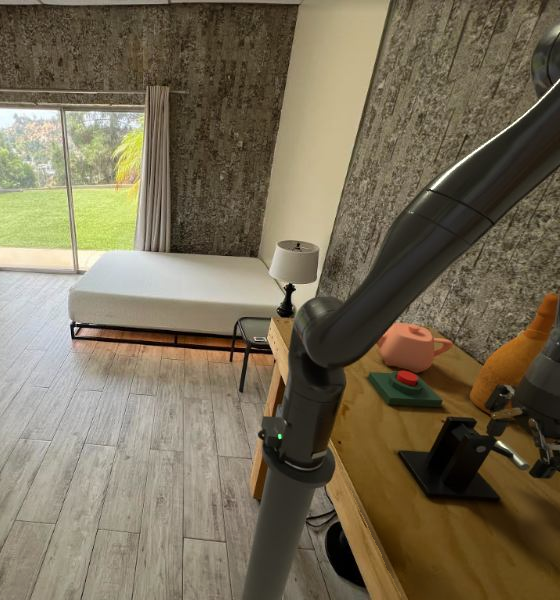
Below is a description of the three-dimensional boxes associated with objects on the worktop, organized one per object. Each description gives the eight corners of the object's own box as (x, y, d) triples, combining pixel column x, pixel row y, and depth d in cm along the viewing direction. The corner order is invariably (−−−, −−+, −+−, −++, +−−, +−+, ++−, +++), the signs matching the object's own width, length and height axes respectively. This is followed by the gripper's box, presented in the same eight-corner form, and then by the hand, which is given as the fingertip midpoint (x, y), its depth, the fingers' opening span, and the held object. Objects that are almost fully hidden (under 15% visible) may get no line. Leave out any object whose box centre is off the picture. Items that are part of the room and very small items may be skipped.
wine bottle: (534, 418, 73) (612, 302, 61) (503, 426, 71) (576, 308, 58) (486, 390, 82) (544, 283, 69) (456, 397, 80) (512, 288, 67)
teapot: (360, 340, 104) (370, 307, 99) (437, 359, 94) (453, 324, 89) (357, 361, 94) (369, 326, 88) (444, 385, 84) (462, 346, 79)
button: (402, 385, 79) (404, 380, 78) (392, 375, 82) (395, 370, 81) (419, 386, 78) (421, 381, 78) (409, 376, 82) (411, 370, 81)
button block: (387, 404, 78) (392, 392, 76) (367, 378, 87) (371, 366, 85) (439, 407, 77) (446, 394, 75) (413, 380, 86) (418, 368, 84)
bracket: (459, 457, 64) (486, 410, 59) (498, 502, 56) (534, 452, 51) (397, 454, 65) (418, 407, 60) (426, 497, 57) (454, 447, 52)
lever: (497, 449, 60) (508, 441, 59) (522, 473, 55) (534, 465, 54) (445, 425, 59) (455, 417, 58) (466, 448, 54) (478, 439, 53)
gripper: (495, 356, 57) (460, 422, 64) (584, 416, 44) (528, 491, 51) (540, 357, 56) (500, 424, 63) (645, 418, 43) (580, 494, 50)
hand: (513, 454), depth 57 cm, fingers open, 8 cm apart
